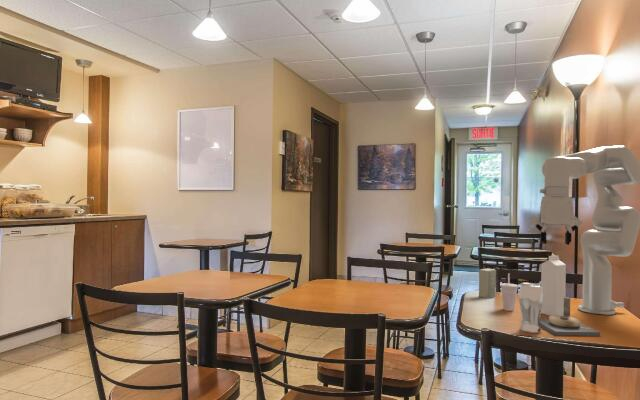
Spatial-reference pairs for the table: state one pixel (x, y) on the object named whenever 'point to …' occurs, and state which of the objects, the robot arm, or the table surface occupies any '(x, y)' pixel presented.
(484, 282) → the skincare box
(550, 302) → the milk
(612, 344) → the table surface
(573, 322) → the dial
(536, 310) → the beer glass
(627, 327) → the table surface
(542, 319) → the board
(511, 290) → the smoothie
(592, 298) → the robot arm
